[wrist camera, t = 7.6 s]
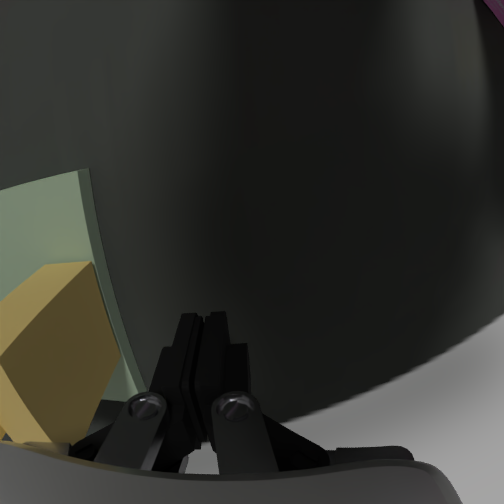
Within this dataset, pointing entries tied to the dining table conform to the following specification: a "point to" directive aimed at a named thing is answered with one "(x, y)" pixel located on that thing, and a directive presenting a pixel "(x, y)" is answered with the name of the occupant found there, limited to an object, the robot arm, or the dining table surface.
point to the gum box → (497, 9)
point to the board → (62, 252)
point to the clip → (54, 354)
